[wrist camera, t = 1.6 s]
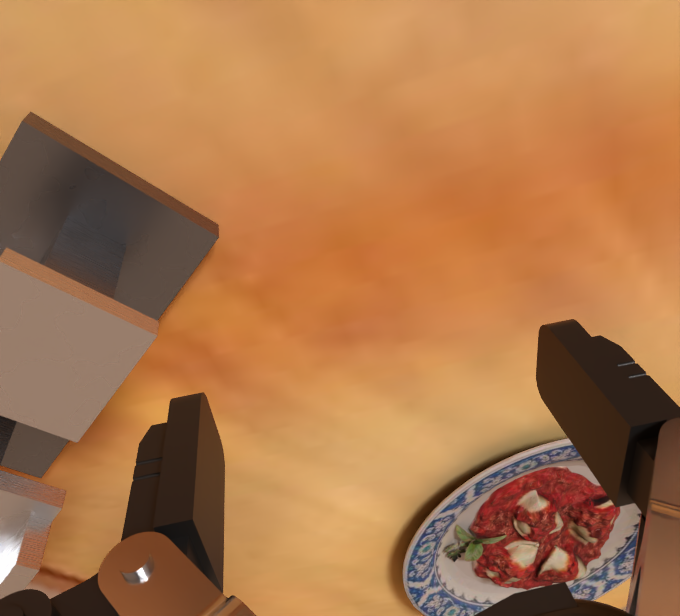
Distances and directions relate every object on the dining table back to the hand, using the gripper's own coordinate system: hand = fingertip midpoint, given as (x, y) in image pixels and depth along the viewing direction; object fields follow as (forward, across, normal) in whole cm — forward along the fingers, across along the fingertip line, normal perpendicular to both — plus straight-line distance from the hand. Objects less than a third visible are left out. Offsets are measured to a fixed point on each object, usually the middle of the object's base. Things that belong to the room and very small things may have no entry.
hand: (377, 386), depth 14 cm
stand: (+19, +16, +6) cm, 25 cm away
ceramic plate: (+21, -15, +38) cm, 46 cm away
